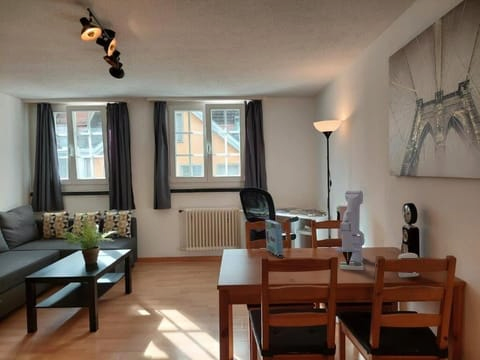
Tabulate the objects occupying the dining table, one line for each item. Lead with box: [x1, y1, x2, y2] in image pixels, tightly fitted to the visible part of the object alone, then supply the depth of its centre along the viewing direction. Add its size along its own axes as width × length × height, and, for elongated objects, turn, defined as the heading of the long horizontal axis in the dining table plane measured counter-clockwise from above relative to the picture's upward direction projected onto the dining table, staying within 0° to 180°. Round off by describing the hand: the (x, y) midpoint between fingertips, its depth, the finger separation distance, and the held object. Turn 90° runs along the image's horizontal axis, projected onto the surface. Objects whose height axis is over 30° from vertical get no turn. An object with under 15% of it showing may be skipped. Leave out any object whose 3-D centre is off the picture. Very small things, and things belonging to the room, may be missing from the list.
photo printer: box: [397, 252, 420, 278], centre depth 178 cm, size 10×4×12 cm, turn 96°
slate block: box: [353, 260, 362, 266], centre depth 197 cm, size 4×4×4 cm
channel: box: [339, 261, 365, 271], centre depth 198 cm, size 8×13×2 cm, turn 73°
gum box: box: [264, 219, 284, 256], centre depth 239 cm, size 20×5×23 cm, turn 17°
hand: (348, 264), depth 199 cm, fingers closed
